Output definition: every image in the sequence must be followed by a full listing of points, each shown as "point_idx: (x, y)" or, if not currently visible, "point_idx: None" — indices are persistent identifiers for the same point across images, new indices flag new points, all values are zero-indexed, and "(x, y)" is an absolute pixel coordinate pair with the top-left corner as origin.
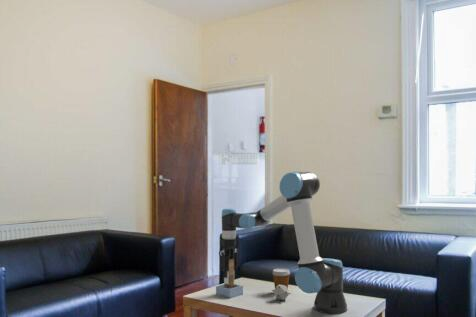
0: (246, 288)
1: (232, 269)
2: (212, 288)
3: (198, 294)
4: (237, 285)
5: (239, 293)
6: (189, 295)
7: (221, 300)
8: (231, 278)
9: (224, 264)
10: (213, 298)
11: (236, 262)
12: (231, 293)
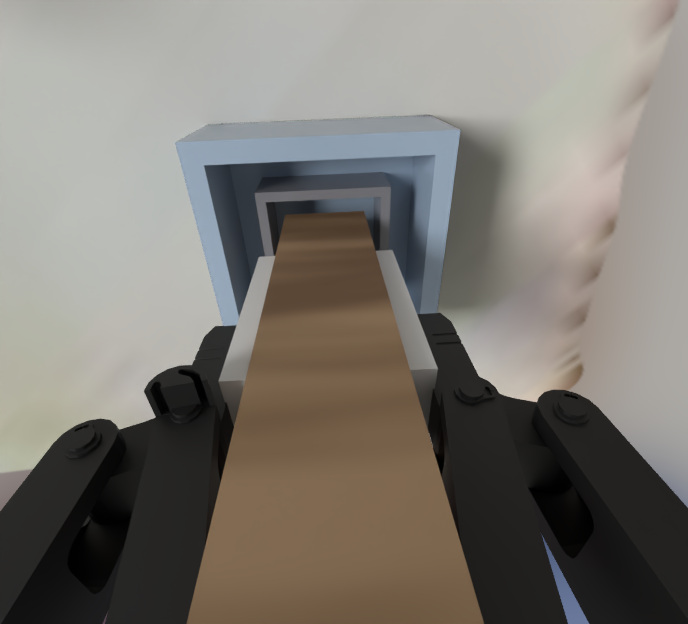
0: (41, 266)
1: (292, 386)
2: None
3: None
4: (218, 224)
5: (266, 125)
6: None
7: (540, 132)
8: (329, 278)
9: (683, 561)
10: (513, 244)
11: (22, 577)
12: (416, 122)
